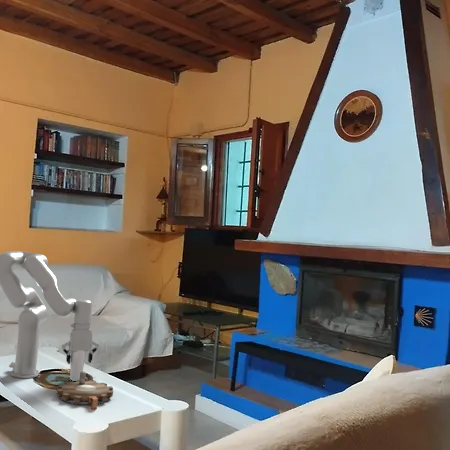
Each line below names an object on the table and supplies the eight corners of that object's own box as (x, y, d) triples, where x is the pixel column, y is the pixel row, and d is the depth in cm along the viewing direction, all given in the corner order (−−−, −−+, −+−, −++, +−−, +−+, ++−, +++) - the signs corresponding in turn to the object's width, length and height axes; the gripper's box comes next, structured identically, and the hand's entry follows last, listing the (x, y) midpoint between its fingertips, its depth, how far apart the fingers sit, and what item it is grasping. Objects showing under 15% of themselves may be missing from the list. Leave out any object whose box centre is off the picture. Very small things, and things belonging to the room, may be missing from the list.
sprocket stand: (47, 397, 219) (48, 388, 219) (79, 384, 240) (80, 376, 240) (94, 410, 211) (95, 400, 211) (123, 395, 231) (124, 386, 231)
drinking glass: (78, 383, 241) (82, 351, 241) (65, 381, 243) (68, 349, 243) (85, 379, 248) (88, 348, 248) (72, 377, 249) (75, 346, 249)
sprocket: (52, 385, 230) (53, 370, 230) (104, 383, 242) (106, 368, 242) (62, 404, 210) (64, 387, 210) (119, 400, 221) (121, 384, 221)
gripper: (64, 328, 238) (61, 365, 238) (102, 327, 246) (99, 363, 246) (61, 325, 245) (58, 361, 245) (98, 324, 253) (95, 359, 252)
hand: (79, 362), depth 245 cm, fingers open, 9 cm apart
